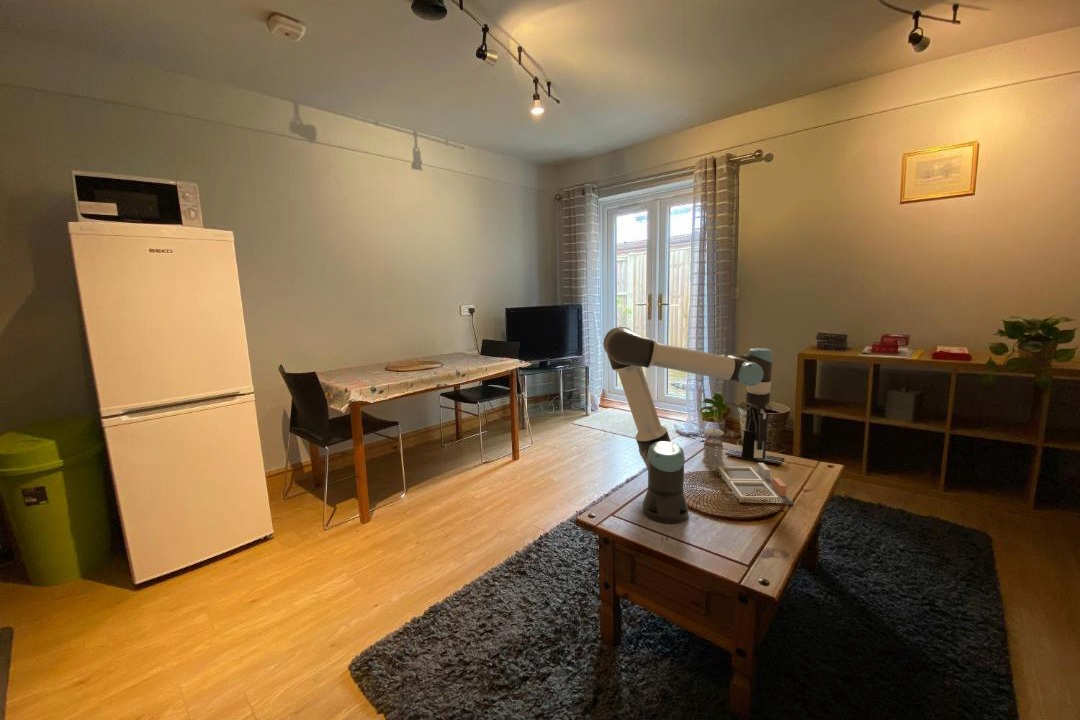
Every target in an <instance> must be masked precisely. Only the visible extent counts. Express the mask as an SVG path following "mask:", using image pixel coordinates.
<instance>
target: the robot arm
mask: <svg viewBox="0 0 1080 720" xmlns="http://www.w3.org/2000/svg"><path fill="white" fill-rule="evenodd" d="M602 343H603V349H604V351H605V352H606V355H607V357H608V361H609V363H610V366H611V369H612V370H613V371H615V372H616V373H617V374H618V377H619V379H620V383H621V386H622V388H623V392H624V395H625V397H626V400H627V403H628V406H629V410H630V413H631V414H632V418H633V421H634V424H635V427H636V429H637V433H636V435H635V440H636V443H637V446H638V452H639V456H640V457H641V458H642V460H643V462H644V463H645V466H646V469H647V491H646V493H645V496H644V498H643V501H642V513H643V515H644V516H645V517H646V518H648V519H650V520H651V521H655V522H657V523H662V524H679V523H682V522H684V521H686V520H687V519H688V518H689V506H688V503H687V500H686V497H685V493H684V482H685V481H684V480H685V478H684V477H685V461H686V459H685V453H684V450H683V448H682V447H681V446H680V445H679V444H677V443H674V442H672V441H671V438H670V435H669V432H668V430H667V428H666V427H665V426H663V425H661V421H660V419H659V416H658V412H657V410H656V406H655V404H654V400H653V398H652V395H651V390H650V388H649V385H648V382H647V379H646V375H645V373H644V370H643V368H648V369H649V368H650V367H651V366H653V367H658V368H663V369H667V370H674V371H679V372H682V373H683V372H684V373H689V374H694V375H699V376H704V377H709V378H714V379H718V380H719V379H721V380H726V381H728V382H729V381H730V382H735V383H740V384H741V385H743V386H746V393H745V401H746V403H747V404H746V416H745V427H744V428H745V429H744V430H747V431H752V432H756V439H754V441H755V442H754V458H757V457H758V458H762V456H763V441H767V442H768V419H769V413H767V412H766V409H765V406H766V405H769V404H770V401H771V400H770V399H771V393H770V392H771V386H772V385H773V383H772V369H773V364H774V363H773V361H774V360H773V356H774V355H773V351H772V350H771V349H769V348H763V347H762V348H761V347H754V348H752V347H751V348H750V349H749V350H748V353H747V354H725V353H724V354H715V353H711V352H706V351H700V350H695V349H689V348H684V347H679V346H675V345H671V344H670V345H669V344H665V343H659V342H657V341H656V340H655V339H654V338H649V337H646V336H643V335H641V334H639V333H636V332H635V331H633V330H632V329H631V328H628V327H626V326H619V327H618V326H617V327H614V328H611V329H610V330H609V331H608V332H607V333H606V334H605V336H604V339H603V342H602Z"/></svg>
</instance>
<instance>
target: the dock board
mask: <svg viewBox="0 0 1080 720" xmlns="http://www.w3.org/2000/svg"><path fill="white" fill-rule="evenodd" d="M715 468H716V469H715V471H716V473H718V472H719V473H720V474H721V475H722V477H723V478H724V480H725V481H726V482H727V484H728V485H729V487H730V488H731V490H732V491H733V492H734V493H735V495H736V496H738V497H740V499H777V500H778V497H779V500H780V501H782V502H784V503H785V504H784V505H794V501H793V499H792V498H791V497H790V496H789V494H787V485H786V484H785V483H784V482H783V481H782V480H781V479H780V478H779V477H771V469H770V468H769V467H768V465H767V464H765V463H764V462H757V468H752V467H751V466H726V465H724V466H719V467H715ZM754 488H755V492H756V489H757V488H758V489H761V490H765V491H767V492H769V493H770V494H771V495H772V496H745V495H742V494H744V493H745V494H746V493H749V494H750V492H751V493H752V492H753V493H754Z"/></svg>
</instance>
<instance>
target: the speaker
mask: <svg viewBox="0 0 1080 720" xmlns="http://www.w3.org/2000/svg"><path fill="white" fill-rule="evenodd" d="M754 439H756V432H752V431H747V430H746V429H744V430H743V439H742V440H743V441H742V449H741V459H743V460H747V461H752V462H756V463H758V460H766V452H767V445H768V440H767V441H763V456H762V458H758V457H757V458H754V442H755V441H754Z"/></svg>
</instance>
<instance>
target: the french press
mask: <svg viewBox="0 0 1080 720" xmlns="http://www.w3.org/2000/svg"><path fill="white" fill-rule="evenodd" d="M711 409H712V411H713V412H714V413H713V414H714V415H713V424H715V423H716V422H715V417H716V416H715V415H716V411H717V410H718V408H717V407H716V406H713V407H711ZM703 433H704V434H705V435H707V436H711V437H713V438H711V437H710V438H706V439H705V440H704V443H703V458H702V459H701V460H700V463H702V464H703V465H705V466H707V467H713V468H714V467H715V468H719V466H726V463H725V461H724V459H723V456H724V445H723V441H722V440H721V439H720V438H715V437H721V436H724V434H725V432H724V431H723V430H722V429H718V428H715V427H710V428H706V429H705V430H703Z"/></svg>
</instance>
